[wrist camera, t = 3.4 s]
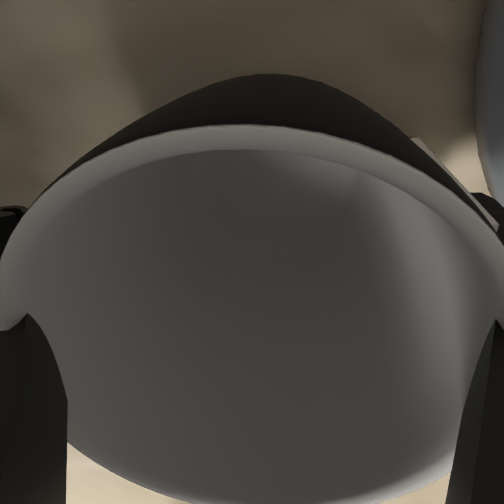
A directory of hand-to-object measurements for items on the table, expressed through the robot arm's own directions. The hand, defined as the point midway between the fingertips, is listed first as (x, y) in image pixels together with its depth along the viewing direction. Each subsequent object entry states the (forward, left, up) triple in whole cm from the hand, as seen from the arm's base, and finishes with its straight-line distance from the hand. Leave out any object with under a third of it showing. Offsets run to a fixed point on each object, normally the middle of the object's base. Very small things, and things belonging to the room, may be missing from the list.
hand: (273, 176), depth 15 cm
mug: (0, -1, 0) cm, 2 cm away
